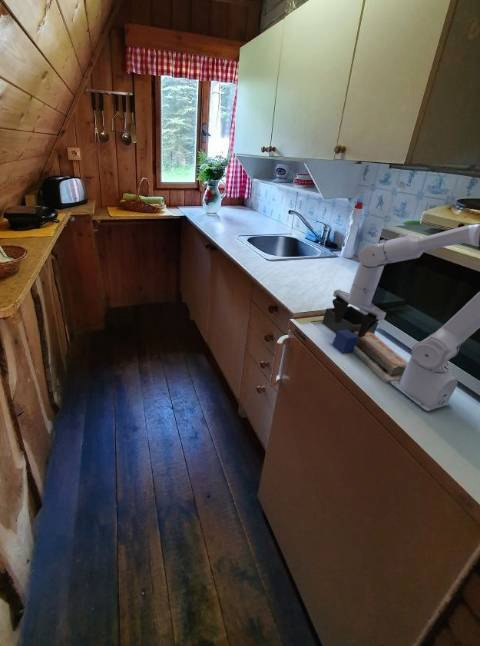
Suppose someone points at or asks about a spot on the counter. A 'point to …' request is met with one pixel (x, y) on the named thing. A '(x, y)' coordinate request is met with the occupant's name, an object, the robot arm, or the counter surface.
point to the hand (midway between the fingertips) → (348, 328)
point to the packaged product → (379, 357)
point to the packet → (345, 341)
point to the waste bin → (346, 320)
